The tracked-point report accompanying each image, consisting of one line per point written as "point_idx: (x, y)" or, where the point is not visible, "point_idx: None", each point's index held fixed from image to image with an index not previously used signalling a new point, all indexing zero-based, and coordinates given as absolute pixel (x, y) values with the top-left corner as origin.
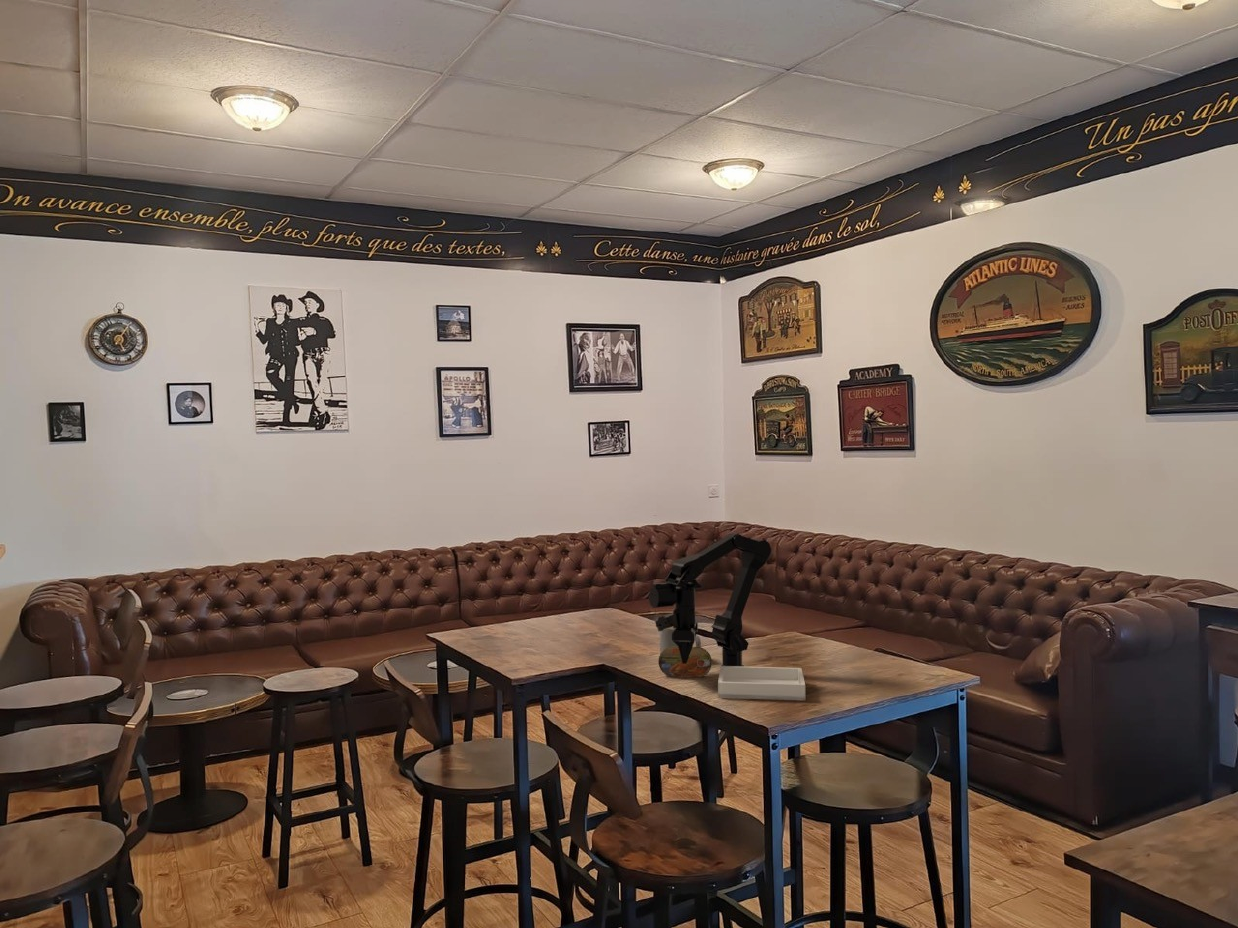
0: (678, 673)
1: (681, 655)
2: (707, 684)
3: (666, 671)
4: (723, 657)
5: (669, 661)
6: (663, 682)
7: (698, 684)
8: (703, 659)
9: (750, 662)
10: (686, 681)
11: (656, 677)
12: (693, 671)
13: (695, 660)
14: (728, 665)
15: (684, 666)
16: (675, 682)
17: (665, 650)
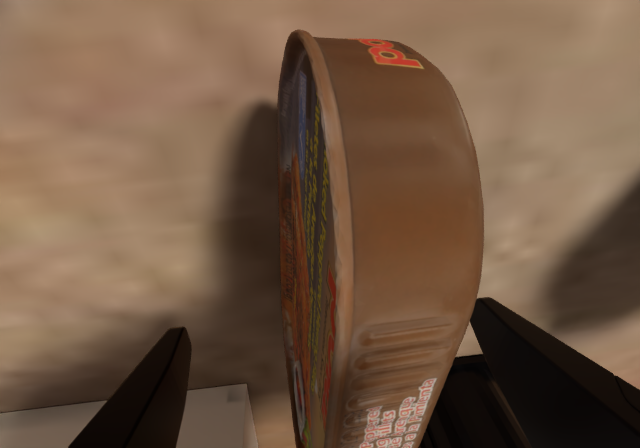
0: (290, 207)
1: (103, 412)
2: (142, 355)
3: (294, 114)
4: (466, 427)
5: (311, 181)
6: (59, 102)
7: (121, 322)
8: (301, 426)
9: None
10: (168, 258)
11: (225, 6)
12: (293, 304)
13: (303, 381)
14: None
15: (301, 278)
16: (108, 197)
17: (347, 199)
